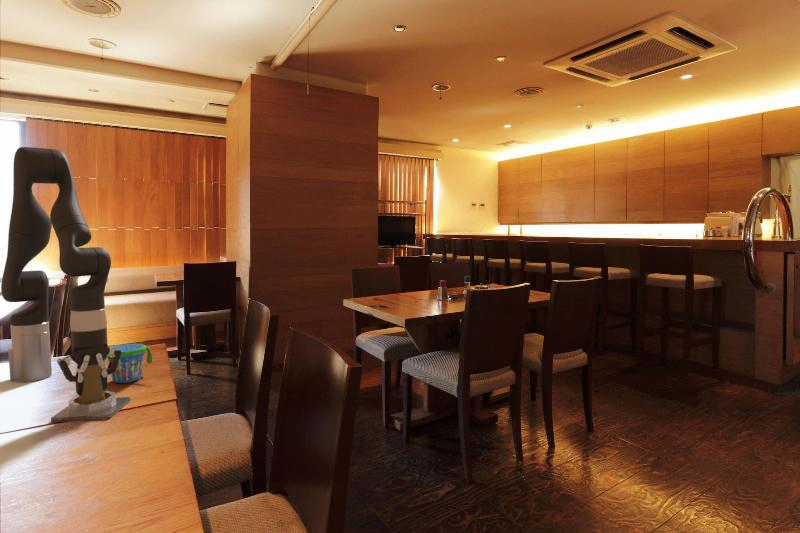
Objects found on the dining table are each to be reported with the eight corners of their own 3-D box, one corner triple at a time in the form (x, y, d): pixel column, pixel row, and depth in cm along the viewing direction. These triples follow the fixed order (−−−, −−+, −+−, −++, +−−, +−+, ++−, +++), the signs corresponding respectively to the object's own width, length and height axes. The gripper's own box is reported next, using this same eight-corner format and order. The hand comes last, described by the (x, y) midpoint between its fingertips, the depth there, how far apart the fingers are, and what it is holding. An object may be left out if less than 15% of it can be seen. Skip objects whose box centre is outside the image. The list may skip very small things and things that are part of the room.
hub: (51, 422, 110) (50, 408, 109) (77, 403, 122) (76, 390, 121) (110, 418, 112) (109, 405, 112) (130, 400, 124) (130, 388, 123)
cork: (104, 407, 115) (103, 364, 115) (75, 411, 112) (74, 367, 112) (107, 400, 121) (105, 359, 120) (79, 403, 118) (78, 361, 117)
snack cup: (143, 370, 150) (142, 340, 149) (161, 376, 144) (160, 344, 143) (91, 383, 137) (89, 350, 136) (108, 390, 131) (107, 355, 130)
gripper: (115, 320, 123) (118, 383, 124) (50, 329, 112) (54, 397, 113) (125, 324, 118) (128, 389, 119) (58, 334, 107) (62, 405, 109)
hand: (92, 393), depth 116 cm, fingers closed on cork, 4 cm apart
